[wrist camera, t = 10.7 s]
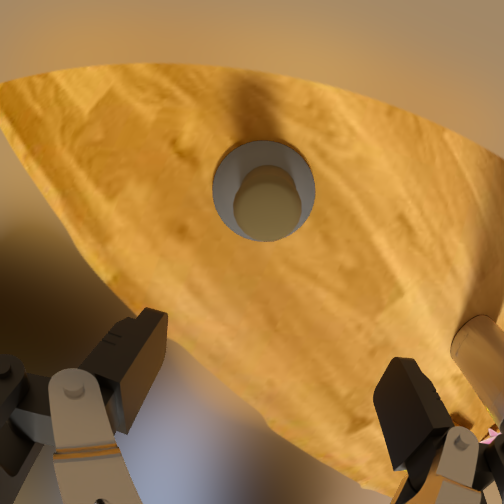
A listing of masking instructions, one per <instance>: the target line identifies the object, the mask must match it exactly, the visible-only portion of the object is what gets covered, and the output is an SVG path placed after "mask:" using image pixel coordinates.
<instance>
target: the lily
mask: <svg viewBox="0 0 504 504" xmlns="http://www.w3.org/2000/svg"><path fill="white" fill-rule="evenodd" d="M489 434H490V437H491V438H489V439H486V440H484V441H481V442H479V443H485V444H490V443H491V442H492V441H493V440H494V439H495V438H496V436H497V435H499V434H502V433H501V432H500V433H497V432H495V431H494V430H492V429H490V428H489Z"/></svg>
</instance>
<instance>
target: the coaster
mask: <svg viewBox="0 0 504 504" xmlns="http://www.w3.org/2000/svg"><path fill="white" fill-rule="evenodd" d="M262 165H274V166H277V167H281V168H282V169H284V170H285V171H287V172H288V173H289V175H290V176H291V177H292V178H293V180H294V183H295V186H296V190H297V191H298V194H299V196H300V199H301V203H302V213H301V216H300V220H299V223H298V224H297V226H296V227H295V228H294V230H293V231H292V232H291V233H290V234H292V233H293V232H295V231H296V230H297V229H298V228H300V227H301V226H302V224H303V223H304V222H305V221H306V219H307V218H308V216H309V214H310V212H311V210H312V207H313V204H314V199H315V183H314V179H313V175H312V173H311V170H310V168H309V167H308V165H307V163H306V162H305V161H304V159H303V158H302V157H301V156H300V155H299V154H298V153H297V152H295V151H294V150H293V149H291V148H289V147H288V146H285V145H283V144H281V143H277V142H273V141H254V142H250V143H246V144H244V145H242V146H240V147H238V148H236V149H234V150H233V151H232V152H231V153H229V154H228V155H227V156H226V157H225V158H224V160H223V161H222V162H221V164H220V166H219V167H218V169H217V172H216V174H215V177H214V181H213V200H214V204H215V208H216V210H217V212H218V214H219V216H220V218H221V219H222V221H223V222H224V223H225V224H226V225H227V226H228V227H229V228H230V229H231V230H232V231H234V232H235V233H236V234H238V235H240V236H242V237H244V238H247V239H250V240H254V241H259V240H255V239H253V238H251V237H250V236H248V235H246V234H245V233H244V232H243V231H242V229H241V228H240V227H239V226H238V225H237V222H236V220H235V217H234V213H233V202H234V198H235V194H236V193H237V191H238V190H239V188H240V187H241V184H242V181H243V179H244V178H245V176H246V175H247V174H248V173H249V172H250V171H251V170H253V169H254V168H256V167H259V166H262ZM290 234H288V235H290ZM288 235H287V236H288Z"/></svg>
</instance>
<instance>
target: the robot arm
mask: <svg viewBox="0 0 504 504" xmlns="http://www.w3.org/2000/svg"><path fill="white" fill-rule="evenodd" d="M167 326H168V314H167V313H165V312H162V311H158V310H155V309H151V308H148V307H146V308H144V310H143V311H142V312H141V313H140V314H139V316H138V317H137V318H136V319H133V318H130V317H127V318H125V319H124V320H121V321H119V322H117V323H116V324H115V325H114V326H113V327H112V328H111V329H110V331H109V332H108V334H106V335H105V336H104V338H103V339H102V341H100V342H99V344H98V345H97V346H96V347H95V348H94V349H93V351H92V352H91V353H90V354H89V355H88V357H87V358H86V359H85V360H84V361H83V363H82V364H81V365H80V366H79V367H78V369H65V370H62V371H60V372H58V373H56V374H55V375H54V376H53V377H52V378H49V377H44V376H39V375H34V374H29V373H26V371H25V368H24V365H23V363H22V362H21V360H20V359H18V358H17V357H15V356H13V355H8V354H1V355H0V504H13V503H14V501H15V498H16V496H17V495H18V493H19V490H20V488H21V486H22V485H23V483H24V481H25V479H26V477H27V475H28V473H29V471H30V469H31V467H32V466H33V464H34V462H35V460H36V458H37V456H38V455H39V453H40V451H41V449H42V447H43V446H44V444H47V445H51V446H55V447H56V453H54V454H53V462H54V467H55V472H56V476H57V480H58V485H59V489H60V492H61V496H62V499H63V503H64V504H143V503H142V501H141V499H140V497H139V495H138V493H137V491H136V488H135V486H134V484H133V482H132V479H131V477H130V474H129V472H128V470H127V467H126V464H125V462H124V459H123V457H122V454H121V452H120V449H119V447H118V446H117V444H116V441H115V438H114V435H115V433H116V431H119V432H121V433H124V434H128V432H129V430H130V428H131V426H132V424H133V422H134V420H135V418H136V416H137V414H138V412H139V410H140V408H141V406H142V404H143V401H144V400H145V398H146V396H147V394H148V392H149V390H150V388H151V386H152V384H153V382H154V380H155V378H156V376H157V374H158V372H159V370H160V368H161V366H162V364H163V361H164V357H165V353H166V341H167ZM451 357H452V358H453V360H454V361H455V363H456V364H457V366H458V367H459V368H460V370H461V371H462V373H463V374H464V376H465V377H466V379H467V380H468V382H469V383H470V384H471V386H472V387H473V389H474V390H475V392H476V393H477V395H478V396H479V398H480V399H481V401H482V403H483V404H484V406H485V407H486V409H487V410H488V412H489V414H490V415H491V417H492V418H493V420H494V422H495V423H496V425H497V427H498V428H499V430H500V432H501V433H502V434H499V435H497V436H496V438H495V439H494V440H493V441H492V442H491V443H490V444H485V443H478V440H477V438H476V436H475V435H474V434H473V433H472V432H471V431H470V430H469V429H467V428H464V427H461V426H455V425H454V423H453V421H452V419H451V417H450V415H449V413H448V411H447V409H446V408H445V406H444V404H443V402H442V400H440V399H441V398H440V396H439V395H438V393H436V389H435V387H434V386H433V384H432V382H431V381H430V380H429V379H428V378H427V377H426V376H425V375H424V374H423V373H422V372H421V370H420V368H419V366H418V365H417V363H416V361H415V360H414V359H412V358H402V357H394V358H393V359H392V360H391V362H390V363H389V365H388V367H387V369H386V371H385V372H384V374H383V376H382V378H381V379H380V381H379V383H378V385H377V386H376V388H375V391H374V395H373V403H374V406H375V409H376V412H377V415H378V419H379V422H380V425H381V428H382V432H383V435H384V438H385V442H386V445H387V449H388V452H389V456H390V459H391V463H392V466H393V470H394V471H401V470H407V472H408V474H407V475H406V476H405V477H404V478H403V479H402V481H401V483H400V485H399V487H398V489H397V491H396V493H395V495H394V497H393V499H392V501H391V503H390V504H487V502H486V499H485V496H484V493H483V490H484V489H485V488H486V487H487V486H489V485H490V484H491V483H492V482H493V481H494V480H495V482H496V484H497V487H498V490H499V492H500V496H501V499H502V504H504V331H503V330H502V329H501V328H500V327H499V326H498V325H497V324H496V323H495V322H494V321H493V320H492V319H490V318H489V317H488V316H486V315H480V316H477V317H474V318H473V319H471V320H470V321H468V322H467V323H466V324H465V325H464V326H463V327H462V328H461V329H460V331H459V332H458V333H457V335H456V337H455V338H454V340H453V343H452V346H451Z"/></svg>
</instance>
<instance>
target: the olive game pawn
mask: <svg viewBox="0 0 504 504" xmlns="http://www.w3.org/2000/svg"><path fill="white" fill-rule="evenodd" d="M233 213H234V217H235V220H236V222H237V225H238V226H239V227H240V228H241V229H242V231H243V232H244V233H245V234H246V235H248V236H250V237H251V238H253V239H255V240H259V241H263V242H271V241H276V240H279V239H282V238H284V237H286V236H287V235H288V234H290V233H291V232H292V231H293V230H294V228H295V227H296V226H297V224H298V223H299V220H300V216H301V213H302V203H301V199H300V196H299V194H298V191H297V190H296V186H295V183H294V180H293V178H292V177H291V176H290V175H289V173H288V172H287V171H285V170H284V169H282V168H281V167H277V166H274V165H262V166H259V167H256V168H254V169H253V170H251V171H250V172H249V173H248V174H247V175H246V176H245V178H244V179H243V181H242V184H241V187H240V188H239V190H238V191H237V193H236V194H235V198H234V202H233Z"/></svg>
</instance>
